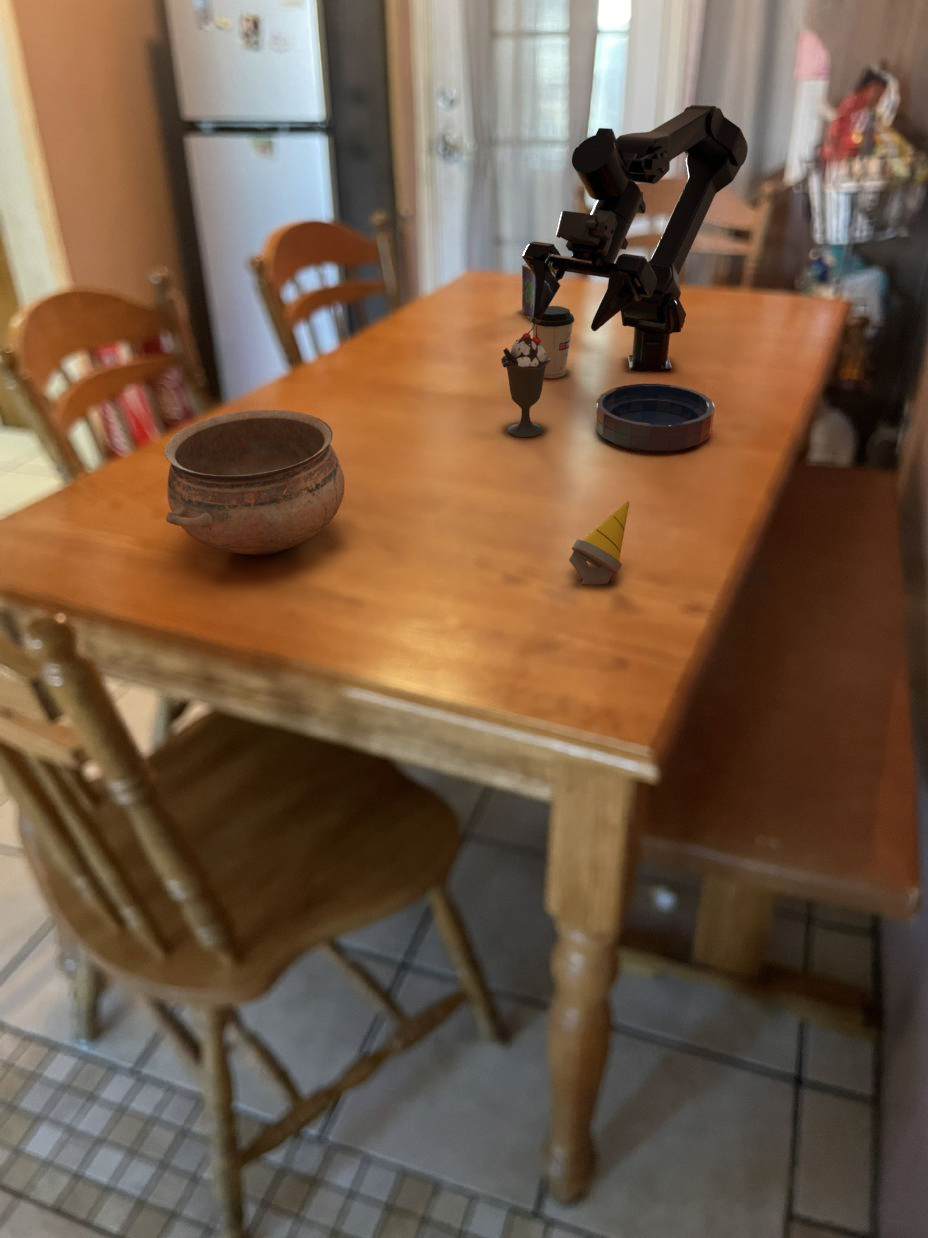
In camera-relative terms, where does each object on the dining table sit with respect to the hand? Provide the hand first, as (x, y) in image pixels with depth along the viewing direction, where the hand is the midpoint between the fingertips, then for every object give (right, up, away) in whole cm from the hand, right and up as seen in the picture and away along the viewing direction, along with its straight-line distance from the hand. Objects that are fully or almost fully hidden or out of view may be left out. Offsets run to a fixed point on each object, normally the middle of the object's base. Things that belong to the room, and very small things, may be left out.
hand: (563, 323), depth 125 cm
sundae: (-5, -14, +3) cm, 15 cm away
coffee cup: (0, -1, +22) cm, 22 cm away
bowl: (+12, -15, +1) cm, 19 cm away
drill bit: (+1, -35, -28) cm, 45 cm away
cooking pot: (-36, -32, -21) cm, 52 cm away
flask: (0, +17, +48) cm, 51 cm away
